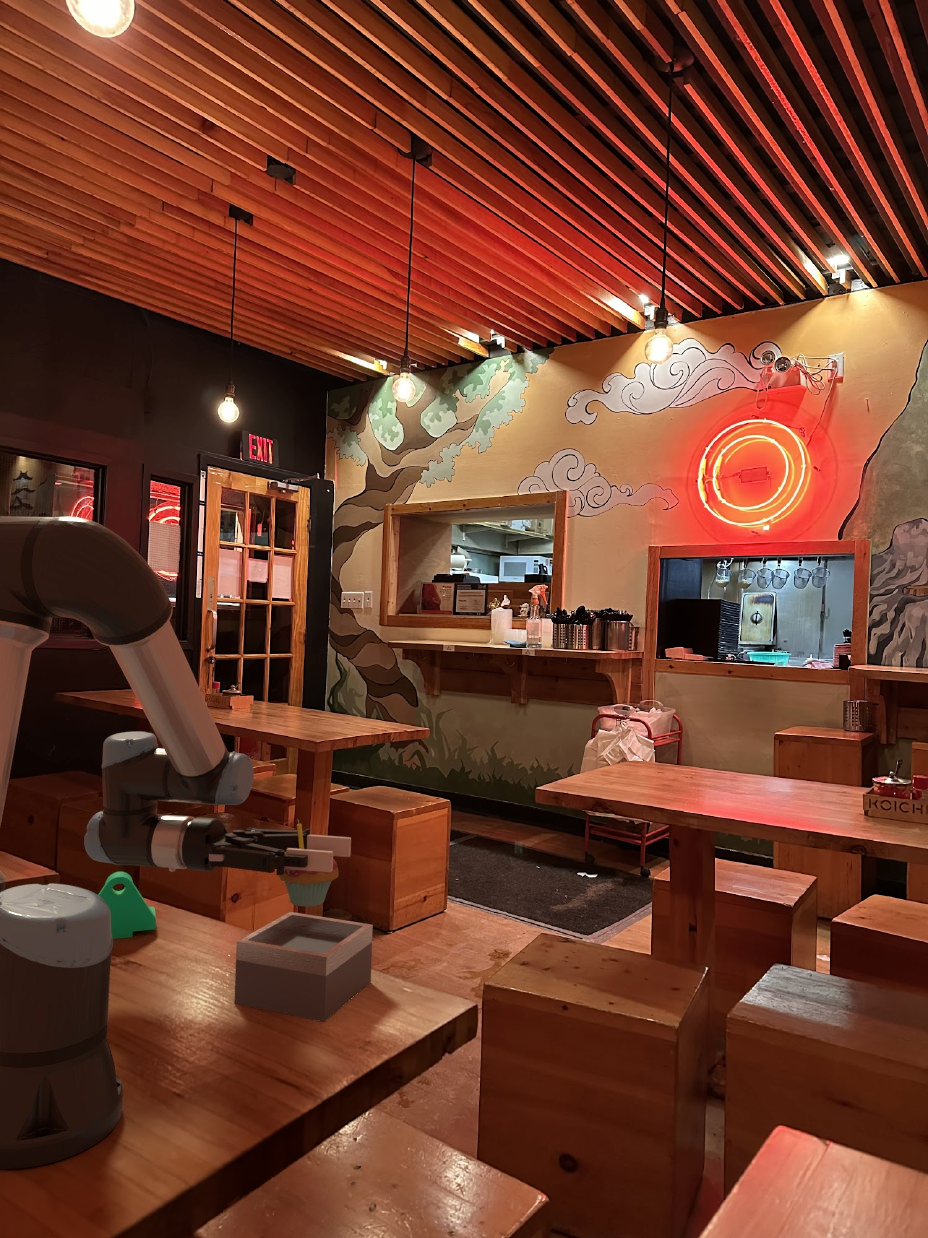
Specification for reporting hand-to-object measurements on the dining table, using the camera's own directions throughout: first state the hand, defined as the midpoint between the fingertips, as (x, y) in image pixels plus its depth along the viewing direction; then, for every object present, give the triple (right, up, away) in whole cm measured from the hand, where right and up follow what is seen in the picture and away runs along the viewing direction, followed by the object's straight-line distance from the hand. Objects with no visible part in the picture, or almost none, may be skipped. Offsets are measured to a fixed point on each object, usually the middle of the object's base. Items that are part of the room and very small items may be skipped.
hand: (341, 854), depth 121 cm
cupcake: (-5, -7, +1) cm, 9 cm away
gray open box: (-5, -20, 0) cm, 21 cm away
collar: (-5, -14, +1) cm, 15 cm away
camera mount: (-41, -20, +23) cm, 51 cm away
